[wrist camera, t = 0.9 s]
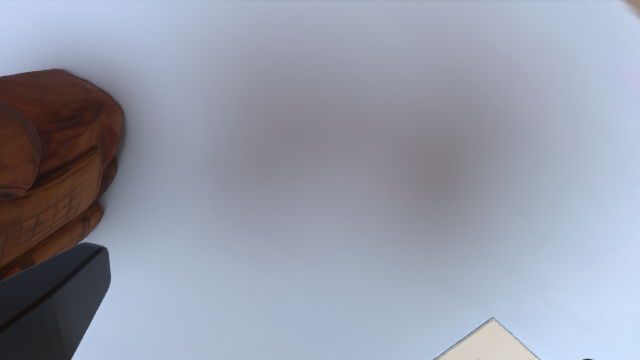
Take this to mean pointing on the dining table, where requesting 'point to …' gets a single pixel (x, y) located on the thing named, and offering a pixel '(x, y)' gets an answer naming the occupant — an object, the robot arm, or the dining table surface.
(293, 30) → the dining table surface
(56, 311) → the robot arm
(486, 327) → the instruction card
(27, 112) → the wooden figurine
